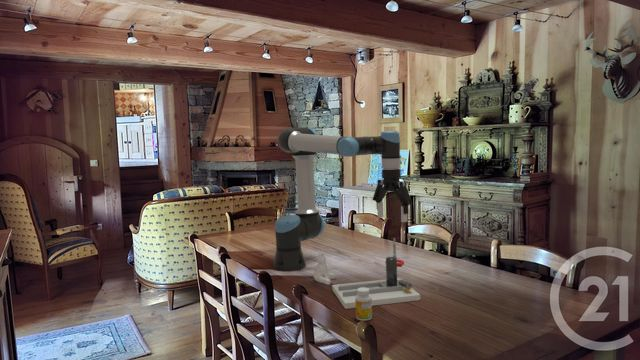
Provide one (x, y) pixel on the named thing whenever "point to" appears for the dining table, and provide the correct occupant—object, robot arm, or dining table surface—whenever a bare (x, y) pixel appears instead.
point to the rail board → (374, 293)
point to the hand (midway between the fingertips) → (392, 219)
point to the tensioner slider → (393, 274)
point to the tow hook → (395, 254)
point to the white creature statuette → (323, 270)
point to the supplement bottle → (363, 304)
